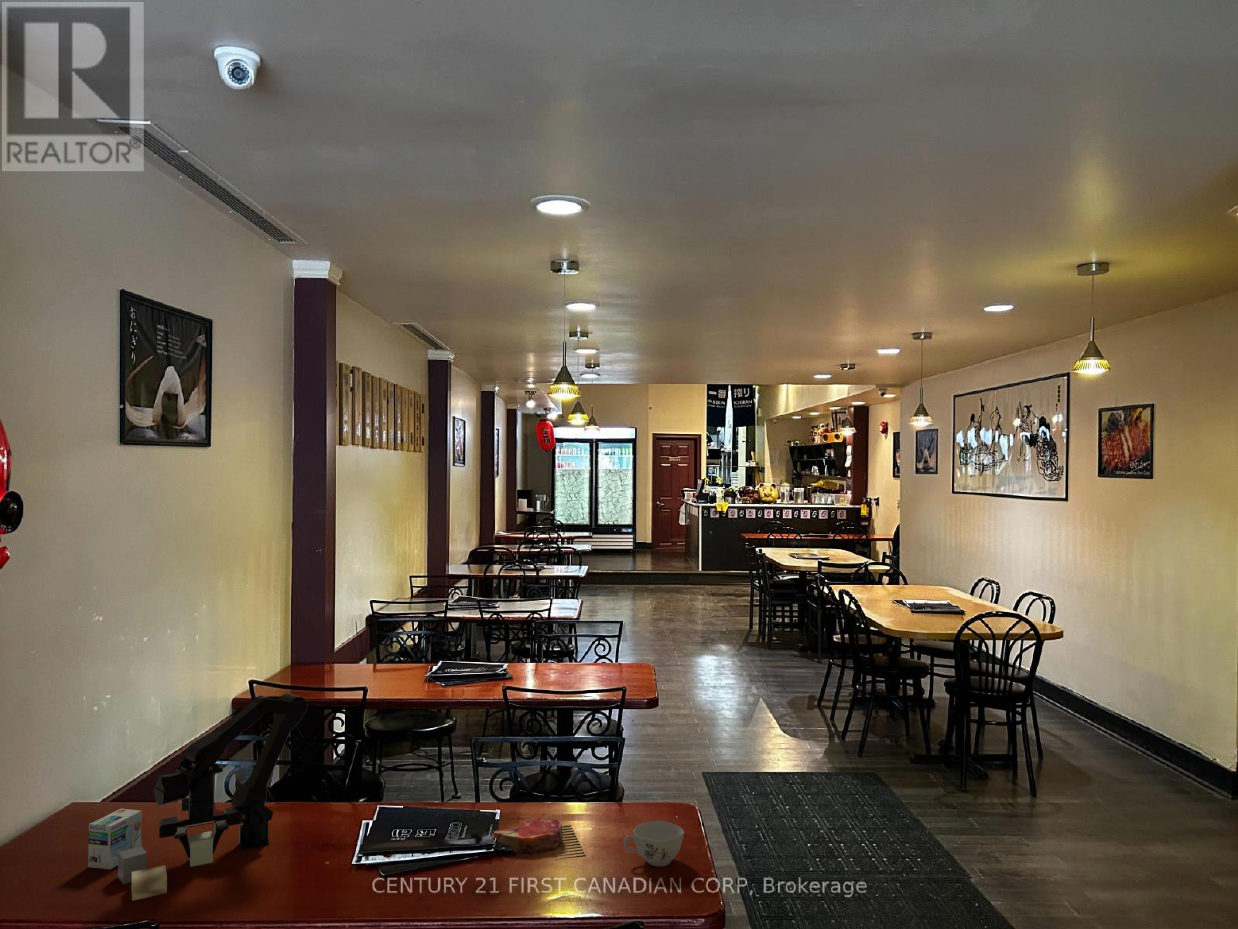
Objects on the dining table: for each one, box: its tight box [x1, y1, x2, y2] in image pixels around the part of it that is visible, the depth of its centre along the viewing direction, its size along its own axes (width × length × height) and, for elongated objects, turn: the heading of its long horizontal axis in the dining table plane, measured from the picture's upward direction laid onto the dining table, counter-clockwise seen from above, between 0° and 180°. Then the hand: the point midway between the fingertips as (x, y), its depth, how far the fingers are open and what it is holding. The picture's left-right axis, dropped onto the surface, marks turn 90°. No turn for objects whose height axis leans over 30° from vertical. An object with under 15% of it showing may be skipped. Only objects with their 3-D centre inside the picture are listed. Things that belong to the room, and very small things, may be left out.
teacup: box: [623, 820, 685, 868], centre depth 214 cm, size 15×12×8 cm
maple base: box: [131, 864, 168, 902], centre depth 199 cm, size 7×7×4 cm
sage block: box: [189, 830, 214, 868], centre depth 214 cm, size 5×5×6 cm
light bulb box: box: [88, 808, 143, 871], centre depth 215 cm, size 11×7×11 cm, turn 168°
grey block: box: [117, 845, 148, 885], centre depth 205 cm, size 5×5×6 cm
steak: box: [493, 816, 587, 861], centre depth 223 cm, size 25×21×6 cm
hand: (201, 855), depth 214 cm, fingers closed on sage block, 5 cm apart
